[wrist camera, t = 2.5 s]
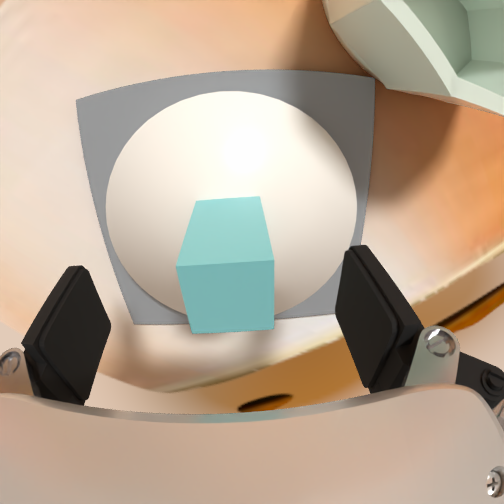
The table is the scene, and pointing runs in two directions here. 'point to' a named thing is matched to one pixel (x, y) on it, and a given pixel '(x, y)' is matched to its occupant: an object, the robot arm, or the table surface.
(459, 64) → the bowl
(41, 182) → the table surface
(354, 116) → the mat
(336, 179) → the lid
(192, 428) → the robot arm
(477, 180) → the table surface
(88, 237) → the table surface
